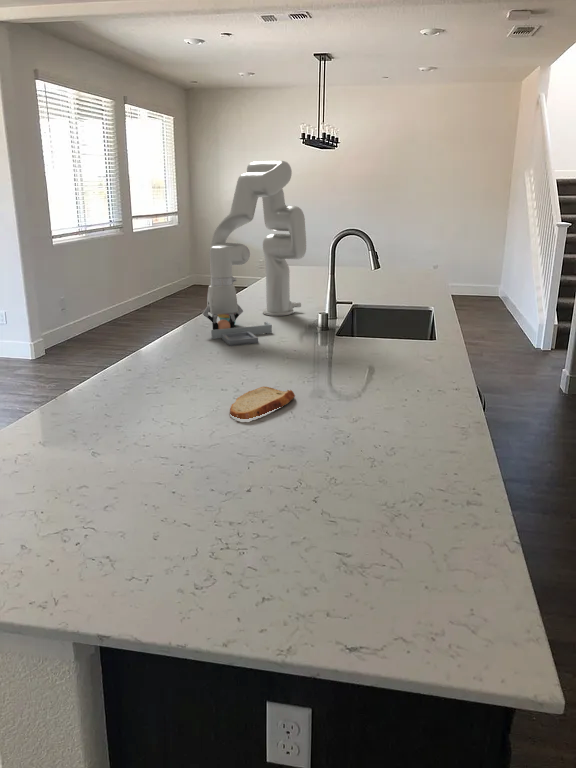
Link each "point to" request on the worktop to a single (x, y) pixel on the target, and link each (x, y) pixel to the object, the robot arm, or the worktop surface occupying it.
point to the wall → (243, 330)
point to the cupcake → (225, 317)
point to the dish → (239, 338)
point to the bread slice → (260, 402)
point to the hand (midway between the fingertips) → (223, 332)
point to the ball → (223, 324)
